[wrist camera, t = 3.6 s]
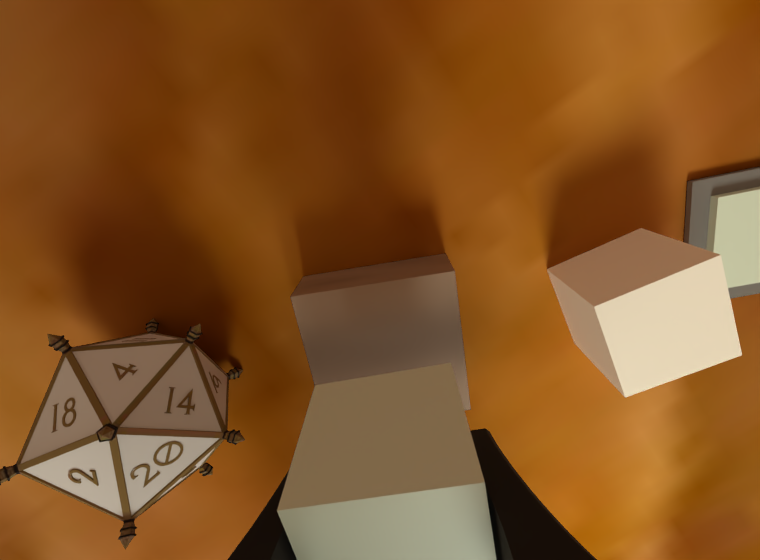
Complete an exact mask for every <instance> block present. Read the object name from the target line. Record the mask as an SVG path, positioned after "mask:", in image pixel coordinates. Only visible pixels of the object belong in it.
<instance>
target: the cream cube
mask: <svg viewBox="0 0 760 560" xmlns="http://www.w3.org/2000/svg"><path fill="white" fill-rule="evenodd" d="M547 271H548V274H549V277H550V279H551V282H552V285H553V287H554V290H555V293H556V295H557V298H558V301H559V303H560V306H561V309H562V311H563V314H564V317H565V319H566V322H567V325H568V327H569V330H570V333H571V335H572V338H573V341H574V343H575V344H576V345H577V346H578V348H579V349H580V350H581V351H582V352H583V353H584V354H585V355H586V356H587V357H588V358H589V359H590V360H591V361H592V363H593V364H594V365H595V366H596V367H597V368H598V369H599V370H600V371H601V372H602V373H603V374H604V375H605V376H606V378H607V379H608V380H609V381H610V382H611V383H612V384H613V385H614V386H615V387H616V388H617V389H618V390H619V391H620V393H621V394H622V395H623V396H624V397H628V396H631V395H634V394H636V393H639V392H642V391H645V390H647V389H650V388H653V387H656V386H658V385H661V384H664V383H667V382H669V381H672V380H675V379H678V378H680V377H683V376H686V375H689V374H691V373H694V372H697V371H700V370H702V369H705V368H708V367H711V366H713V365H716V364H719V363H722V362H724V361H727V360H730V359H733V358H735V357H738V356H741V355H742V353H741V348H740V343H739V338H738V334H737V329H736V324H735V319H734V315H733V310H732V305H731V300H730V296H729V291H728V286H727V281H726V277H725V272H724V267H723V262H722V258H721V255H720V254H717V253H714V252H711V251H708V250H705V249H702V248H699V247H696V246H693V245H690V244H687V243H684V242H681V241H678V240H675V239H672V238H669V237H666V236H663V235H661V234H658V233H655V232H652V231H649V230H646V229H643V228H640V229H638V230H635V231H633V232H631V233H629V234H626V235H624V236H622V237H619V238H617V239H615V240H612V241H610V242H608V243H606V244H603V245H601V246H599V247H596V248H594V249H592V250H590V251H587V252H585V253H583V254H580V255H578V256H576V257H573V258H571V259H569V260H567V261H564V262H562V263H560V264H557V265H555V266H553V267H551V268H548V269H547Z"/></svg>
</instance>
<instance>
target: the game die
mask: <svg viewBox="0 0 760 560" xmlns="http://www.w3.org/2000/svg"><path fill="white" fill-rule="evenodd" d="M158 324H159V323H157V322H156V321H155V320H154V318H153V319H152V320H151V321H150V322H149V323H147V324H146V326H147V328H146V330H147V332H148V333H144V334H139V335H133V336H128V337H123V338H118V339H113V340H107V341H102V342H97V343H92V344H87V345H81V346H76V347H71V346H70V345H69V343H68V342H69V340H65V339H64V335H63V336H57V335H51V334H48V339H49V346H50V347H54V350H56V351H58V350H59V351H61V352H62V356H61V359H60V361H59V364H58V366H57V368H56V371H55V373H54V375H53V378H52V380H51V382H50V385H49V387H48V390H47V392H46V394H45V397H44V399H43V401H42V404H41V406H40V409H39V411H38V413H37V416H36V418H35V420H34V423H33V425H32V427H31V430H30V432H29V435H28V437H27V439H26V442H25V444H24V446H23V449H22V451H21V454H20V456H19V458H18V461H17V463H16V464H15V465H13V466H9V467H5V466H4V467H3V468H2V469H0V485H1V483H3V482H5V481H7V480H8V481H10V478H12V477H13V476H15V475H16V474H21V475H24V476H26V477H28V478H30V479H32V480H34V481H37V482H39V483H41V484H43V485H45V486H47V487H50V488H52V489H54V490H56V491H58V492H61V493H63V494H65V495H67V496H69V497H71V498H74V499H76V500H78V501H80V502H82V503H84V504H87V505H89V506H91V507H93V508H95V509H98V510H100V511H102V512H104V513H106V514H108V515H111V516H113V517H115V518H117V519H119V520H121V521H124V525H123V527H122V529H121V530H120V532H121V535H120V537H119V539H120V541H121V542H122V544H123V546H124V548H125V549H126V548H127V546H128V545H129V543H130V542H131V540H132V539H133V537H134V536H136V534H135V529H136V528H137V527H135V525H134V520H135V518H137V517H138V516H139V515H141V514H142V513H143V512H144V511H146V510H147V509H148V508H149V507H151V506H152V505H153V504H155V503H156V502H157V501H158V500H160V499H161V498H162V497H164V496H165V495H166V494H167V493H169V492H170V491H171V490H172V489H174V488H175V487H176V486H178V485H179V484H180V483H181V482H183V481H184V480H185V479H186V478H188V477H189V476H190V475H192V474H193V473H194V472H195V471H197V470H198V469H199V470H200V473H202V474H203V475H202V476H205V475H212V468H213V467H212V466H211V465H210V464H208V463H205V462H206V461H207V459H208V458H209V457H210V456H211V455H212V453H213V452H214V451H215V450H216V449H217V447H218V446H219V445H220V444H221V443H222V441H223V440H224V439H226V440H227V442H229V443H231V442H232V443H233V444H235V445H236V444H237V443H239V442H241V441H244V440H245V439H244V438H243V436H242V435H241V433H240V430H238V431H235V430H234V429H233V430H232V431H228V430H227V426H228V388H229V379H235V378H236V377H238V378H239V375H240V374H241V372H242V371H243V370H242V369H237V368H236V367H235V368H234V369H233V370H232V369H231V370H230V371H229V372H228V373H225V372H224V371H223V370H222V369H221V368H220V367H219V366H218V365H217V364H216V363H215V362H214V361H213V360H212V359H211V358H210V357H209V356H208V355H207V354H205V353H204V352H203V351H202V350H201V349H200V348H199V347H198V346H197V345H196V344H195V343H194V341H195V340H196V339H199V336H200V335H201V334H203V333H202V332H201V325H200V324H198V325H196V326H193V327H190V329H189V331H188V332H187V337H186V338H181V337H175V336H170V335H164V334H159V333H155V332H157V329H158ZM119 539H118V540H119Z"/></svg>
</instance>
